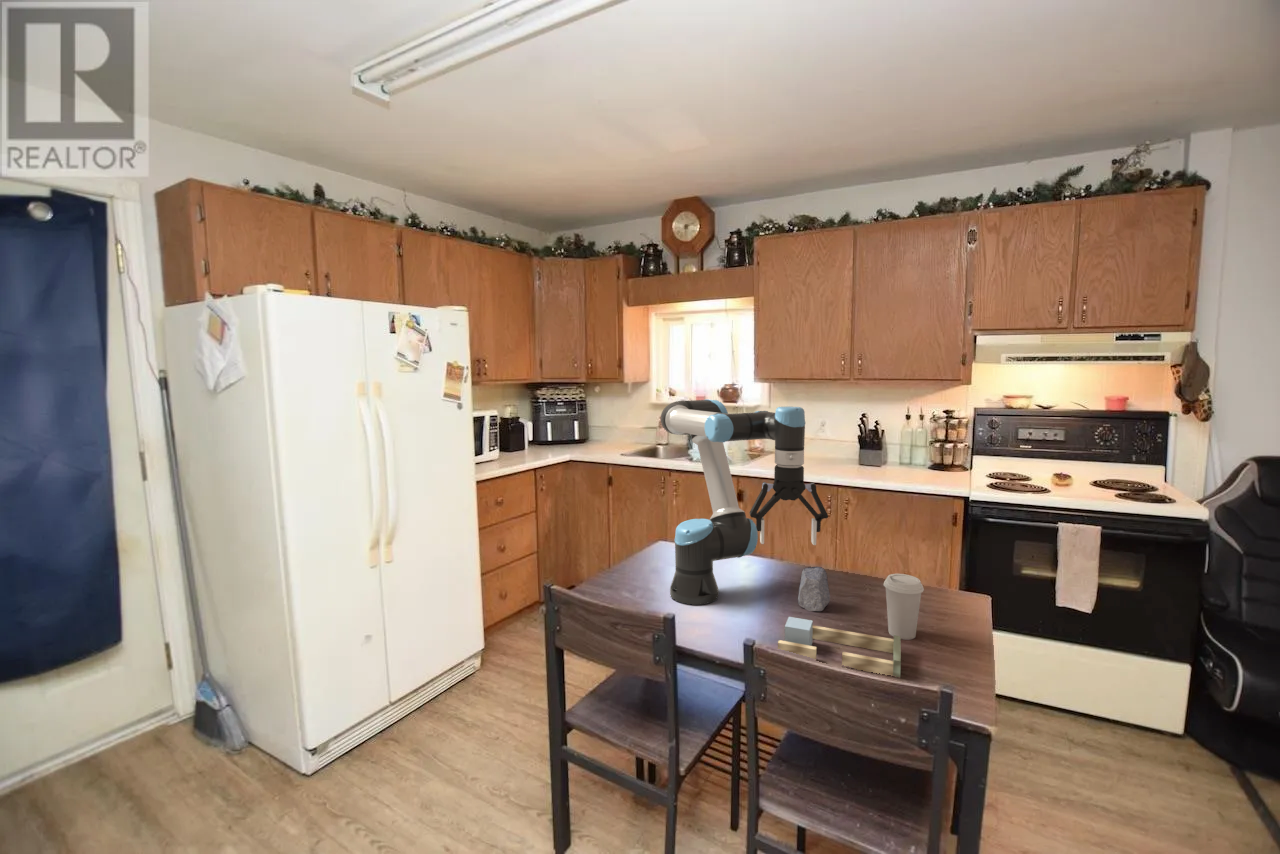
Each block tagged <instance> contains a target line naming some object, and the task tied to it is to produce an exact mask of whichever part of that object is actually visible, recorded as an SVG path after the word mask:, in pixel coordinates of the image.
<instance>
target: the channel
mask: <svg viewBox="0 0 1280 854" xmlns="http://www.w3.org/2000/svg"><path fill="white" fill-rule="evenodd" d="M812 640H816V641H823V642H828V643H834V644H839V645H845V646H851V647H856V648H863V649H868V650H872V651H879V652H884V653H889V654H890V653H891V654H893V655H892V660H889V659H884V658H880V657H879V658H878V657H873V656H867V655H863V654H858V653H857V654H856V653H851V652H846V651H842V654H841V655H842V656H841V666H842V665H844V666H849V667H852V668H855V669H854V670H856V669H857V671H861V670H863V671H862V672H867V673H871V672H873V674H876V673H877V674H876V675H882V674H885V675H884V676H887V675H891V676H890V677H892V675H893V676H896V677H895V678H897V677H900V678H901V664H902V663H901V662H902V660H901V659H902V658H901V657H902V655H901V654H902V653H901V652H902V651H901V648H902V647H901V645H902V644H901V643H902V642H901V639H900V636H896V635H894V637H893V638H890V637H883V636H878V635H872V634H866V633H861V632H854V631H848V630H843V629H837V628H833V627H832V628H830V627H824V626H819V625H814V624H813V635H812ZM778 649H781V650H785V651H789V652H793V653H796V654H799V655H803V656H807V657H810V658H813V659H816V660H817V649H818V647H817V646H813V645H811V646H809V645H804V644H798V643H793V642H787V641H785V640H781V639H778V641H777V650H778ZM879 673H880V674H879Z"/></svg>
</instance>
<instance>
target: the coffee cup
mask: <svg viewBox="0 0 1280 854" xmlns="http://www.w3.org/2000/svg"><path fill="white" fill-rule="evenodd" d="M883 587H884V588H885V597H886V599H885V600H886V613H887V616H886V617H887V629H888V630H887V631H888V633H889V635H890V636H891V637H893V638H894V635H896V636H900V640H909V641H910V640H913V639H915V638H916V635H917V630H918V629H917V626H918V621H919V620H918V618H919V613H920V612H919V611H920V605H921V598H922V597H921V596H922V593H923V592H924V591H925V589H924V586H923V584H922V582H921V580H920V578H918V577H916V576H914V575H911V574H910V575H909V574H905V573H891V574H889V575H887V577H886V578H885V580H884V582H883Z"/></svg>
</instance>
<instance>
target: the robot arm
mask: <svg viewBox="0 0 1280 854" xmlns="http://www.w3.org/2000/svg"><path fill="white" fill-rule="evenodd" d="M805 413H806V411H805V409H804V408H803V407H801V406H778V407H776V409H775V412H772V411H768V410H757V411H754V412H740V413H737V412H736V413H728V410H727V408H726V406H725V405H724V403H722V402H721V401H719V400H717V399H694V400H693V399H692V400H676V401H673V402H671V403H669V404H667V405H666V406H665V407H664V408H663V410H662V411H661V414H660V423H661V426H662V428H663V429H664V431H666V432H667V433H669V434H671V435H678V436H679V435H680V436H684V435H690V437H691V442H692V443H694V444H696V445H697V448H698V452H699V457H700V461H701V465H702V470H703V475H704V479H705V483H706V488H707V492H708V496H709V501H710V506H711V510H712V511H711V512H712V515H711V516H710V518H709V519H708V518H692V519H688V520H685V521H682V522H680V523H679V524H678V525H677V526H676V528H675V532H674V533H675V536H674V548H675V551H674V552H675V553H674V554H675V556H674V557H675V560H674V561H675V572H674V575H673V579H672V581H671V584H670V589H669V593H670V594H669V596H670V595H671V596H670V598H671V597H672V598H673V599H675V600H676V601H675V600H674V601H675V602H677V601H679V602H678V603H680V602H682V603H681V604H684V603H687V604H686V605H690V604H692V605H691V606H693V605H694V606H698V605H706V604H707V605H708V604H710V603H713V602H715V601H717V600H718V598H719V596H720V595H719V594H720V593H719V587H718V583H717V580H716V578H715V575H714V562H715V561H723V560H729V559H734V558H736V559H737V558H739V559H740V558H743V557H746V556H749V555H752V554H753V552H755V550H756V547H757V545H758V539H760V540H759V542H760V544H761V545H764V544H765V519H764V517H765V516H766V515H767V514H768V513H769V511H770V510H771V509H772V508H773V507H774V506H775V505H776V504H777V503H778V502H779V501H780V500H782V501H796V500H798V499H799V501H800V502H801V503H802V504H803V506H805V508H806V509H807V510H808V511H809V513H810V514H811V515H812V516H813V517H814V518H813V517H812V518H811V533H810V534H811V536H810V537H811V538H810V542H811V544H812V546H817V535H818V534H817V533H821V524H822V523H821V522H822V521H823V520H824V519H828V518H829V515H828V513H827V510H826V509H825V505H824V504H823V503H822V501H821V498H820V497H819V495H818V492H817V484H815V483H814V482H809V483H805V480H804V479H805V476H804V475H805V468H804V466H803V465H804V464H805V438H806V436H805V435H806V434H805V433H806V419H805V418H806V417H805V416H806V415H805ZM751 440H752V441H755V440H771V441H774V463H775V466H774V473H773V476H774V479H773V480H774V481H773V483H768V482H766V481H763V482H762V483H761V490H760V491H759V494H758V496H757V498H756V499H755V502H754V503H753V505H752V506H751V509H750V511H749V518H748V517H747V516H746V511H744V510H743V509H741V508H740V506H739V502H738V498H737V495H736V491H735V485H734V482H733V477H732V474H731V469H730V466H729V465H730V464H729V461H728V457H727V453H726V448H725V445H724V443H725V442H736V441H737V442H738V441H751ZM771 489H773V491H774V493H773V495H772V496H771V498H769V500H768V501H767V502H766V503H764V505H763V506H762V503H763V502H764V500H765V497H766V496H767V493H768V492H770V491H771ZM805 490H807V492H809V493H810V494H811V496H812V498H813V500H814V502H815V504H816V506H817V508H818V511H819V513H818V512H817V511H816V510H815V508H814V507H813V506H812V505H811V504H810V503H809V502H808V500H807V499H806V498H805V497H804V496H803V495H802V494H803V492H804V491H805ZM761 506H762V508H761ZM759 509H760V510H759ZM750 517H751V518H750ZM752 518H754V519H756V521H755V522H754V520H753V519H752ZM758 533H759V535H758ZM672 598H671V599H672ZM673 599H672V600H673Z"/></svg>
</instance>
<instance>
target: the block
mask: <svg viewBox="0 0 1280 854" xmlns="http://www.w3.org/2000/svg"><path fill="white" fill-rule="evenodd" d="M813 622H814V621H813V620H811V619H806V618H800V617H793V616H788V617H787V620H786V622H785V625H784V641H787V642H793V643H798V644H804V645H809V646H813V639H812V635H813V625H814V624H813Z"/></svg>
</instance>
